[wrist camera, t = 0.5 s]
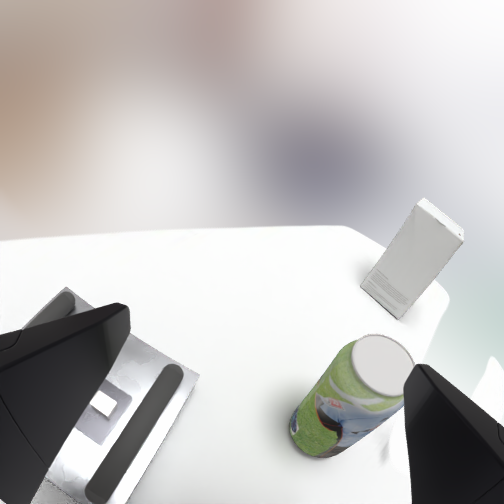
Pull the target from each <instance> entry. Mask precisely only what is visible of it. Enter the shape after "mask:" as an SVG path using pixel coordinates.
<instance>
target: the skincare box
mask: <svg viewBox="0 0 504 504" xmlns="http://www.w3.org/2000/svg"><path fill="white" fill-rule="evenodd" d="M463 239H464V230H463V229H462V228H461V227H460V226H459V225H458V224H456V223H455V222H454V221H453V220H451V219H450V218H449V217H448V216H447V215H445V214H444V213H443V212H442V211H441V210H439V209H438V208H437V207H436V206H434V205H433V204H432V203H430V202H429V201H428V200H427V199H425V198H423V199H421V200H420V201H419V202H418V203H416V205H415V206H414V208H413V210H412V212H411V213H410V215H409V216H408V218H407V219H406V221H405V222H404V224H403V226H402V227H401V229H400V230H399V232H398V233H397V235H396V236H395V238H394V239H393V241H392V242H391V244H390V245H389V247H388V248H387V249H386V251H385V252H384V254H383V255H382V257H381V258H380V259H379V261H378V262H377V264H376V265H375V266H374V268H373V269H372V271H371V272H370V273H369V275H368V276H367V277H366V279H365V280H364V282H363V283H362V284H361V287H362V288H363V289H364V290H365V291H366V292H367V293H369V294H370V295H371V296H372V297H373V298H374V299H376V300H377V301H378V302H379V303H380V304H381V305H382V306H384V307H385V308H386V309H387V310H388V311H389V312H390V313H392V314H393V315H394V316H395V317H396V318H397V319H399V318H401V316H402V315H403V314H404V313H405V312H406V311H407V310H408V309H409V308H410V307H411V306H412V304H413V303H414V302H415V301H416V300H417V299H418V298H419V296H420V295H421V294H422V293H423V292H424V291H425V290H426V288H427V287H428V286H429V285H430V284H431V282H432V281H433V280H434V279H435V278H436V276H437V275H438V274H439V273H440V271H441V270H442V269H443V268H444V266H445V265H446V264H447V263H448V261H449V260H450V259H451V257H452V256H453V255H454V253H455V252H456V251H457V249H458V248H459V247H460V246H461V245H462V244H463V242H464V240H463Z"/></svg>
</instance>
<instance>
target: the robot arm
mask: <svg viewBox="0 0 504 504" xmlns="http://www.w3.org/2000/svg"><path fill="white" fill-rule="evenodd" d="M130 329H131V326H130V311H129V307H128V306H126V305H123V304H120V303H113V304H109V305H106V306H102V307H99V308H95V309H92V310H88V311H85V312H81V313H78V314H74V315H71V316H67V317H64V318H60V319H57V320H53V321H49V322H46V323H42V324H39V325H35V326H31V327H28V328H24V329H23V330H22V329H20V330H17V331H13V332H9V333H5V334H1V335H0V499H1V500H2V501H3V502H5V503H6V504H30V503H31V501H32V499H33V497H34V495H35V494H36V492H37V490H38V488H39V486H40V485H41V483H42V481H43V479H44V477H45V476H46V474H47V472H48V470H49V469H48V468H50V467H51V465H52V463H53V461H54V460H55V458H56V456H57V455H58V453H59V451H60V450H61V448H62V446H63V444H64V443H65V441H66V440H67V438H68V436H69V435H70V433H71V431H72V430H73V428H74V427H75V425H76V423H77V422H78V420H79V418H80V417H81V415H82V414H83V412H84V411H85V409H86V407H87V406H88V404H89V403H90V401H91V400H92V398H93V397H94V395H95V393H96V392H97V390H98V389H99V387H100V386H101V384H102V383H103V381H104V380H105V378H106V377H107V375H108V374H109V372H110V370H111V369H112V367H113V365H114V363H115V361H116V359H117V357H118V355H119V353H120V351H121V349H122V347H123V345H124V344H125V342H126V340H127V338H128V336H129V334H130ZM403 396H404V412H405V413H404V414H405V431H406V440H407V448H408V455H409V466H410V478H411V494H412V504H504V427H503V426H502V425H501V424H499V423H497V421H496V420H495V419H493V418H492V417H491V416H490V415H489V414H487V413H486V412H485V411H484V410H483V409H481V408H480V407H479V406H478V405H477V404H475V403H474V402H473V401H472V400H471V399H469V398H468V397H467V396H466V395H465V394H463V393H462V392H461V391H460V390H458V389H457V388H456V387H455V386H453V385H452V384H451V383H450V382H449V381H447V380H446V379H445V378H444V377H442V376H441V375H440V374H439V373H437V372H436V371H435V370H434V369H433V368H431V367H430V366H429V365H427V364H416V365H415V366H414V367H413V369H412V371H411V373H410V374H409V376H408V378H407V380H406V381H405V383H404V386H403Z"/></svg>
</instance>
